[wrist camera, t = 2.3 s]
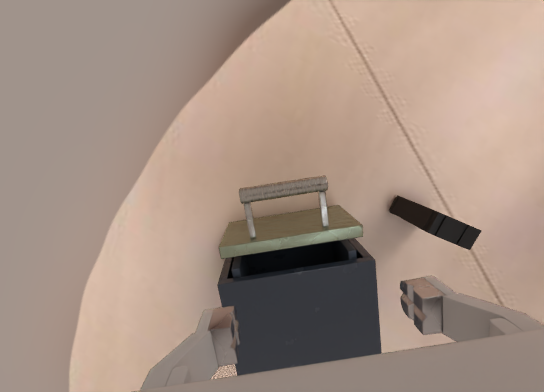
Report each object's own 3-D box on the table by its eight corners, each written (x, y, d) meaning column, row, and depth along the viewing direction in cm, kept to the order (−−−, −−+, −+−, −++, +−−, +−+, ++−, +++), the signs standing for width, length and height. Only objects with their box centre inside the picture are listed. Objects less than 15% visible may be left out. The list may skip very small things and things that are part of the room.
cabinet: (229, 244, 32) (217, 284, 23) (344, 226, 32) (375, 259, 23) (248, 335, 35) (243, 402, 26) (352, 318, 35) (383, 379, 26)
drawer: (220, 182, 29) (207, 196, 22) (335, 164, 29) (358, 172, 22) (246, 312, 33) (242, 359, 26) (347, 296, 33) (371, 339, 26)
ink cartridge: (386, 210, 32) (427, 234, 24) (395, 194, 31) (440, 212, 23) (420, 225, 32) (471, 252, 24) (429, 209, 32) (484, 231, 24)
